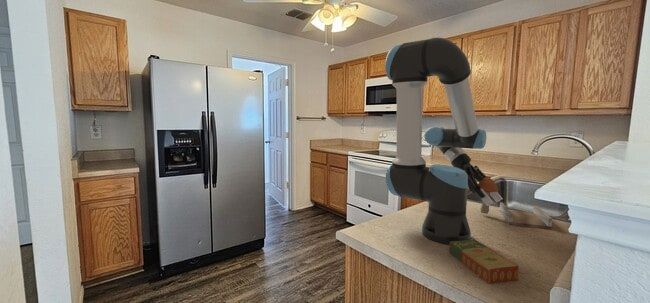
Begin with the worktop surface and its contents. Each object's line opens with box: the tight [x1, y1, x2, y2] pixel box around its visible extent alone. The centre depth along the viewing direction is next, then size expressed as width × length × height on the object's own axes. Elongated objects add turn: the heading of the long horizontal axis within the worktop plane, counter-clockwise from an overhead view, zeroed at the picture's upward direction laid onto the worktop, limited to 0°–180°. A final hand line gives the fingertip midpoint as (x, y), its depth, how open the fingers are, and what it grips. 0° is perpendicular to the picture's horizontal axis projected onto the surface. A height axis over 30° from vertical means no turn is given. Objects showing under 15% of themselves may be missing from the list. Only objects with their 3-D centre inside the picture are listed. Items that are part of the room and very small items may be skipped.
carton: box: [449, 239, 520, 285], centre depth 75 cm, size 8×16×4 cm, turn 9°
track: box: [498, 201, 553, 230], centre depth 110 cm, size 13×16×4 cm
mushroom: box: [477, 176, 499, 215], centre depth 114 cm, size 8×8×15 cm
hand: (495, 202), depth 111 cm, fingers closed on mushroom, 8 cm apart
